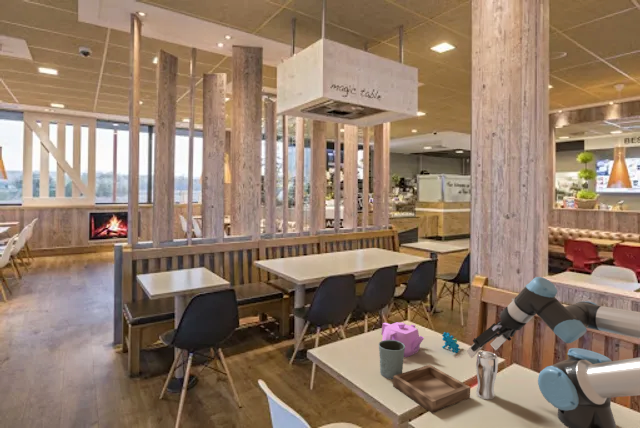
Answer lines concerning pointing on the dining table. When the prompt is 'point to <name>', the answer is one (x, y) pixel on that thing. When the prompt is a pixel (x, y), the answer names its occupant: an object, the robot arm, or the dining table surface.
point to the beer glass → (486, 374)
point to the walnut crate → (431, 388)
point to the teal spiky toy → (450, 342)
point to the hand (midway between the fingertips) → (481, 350)
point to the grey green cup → (391, 358)
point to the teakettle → (403, 336)
